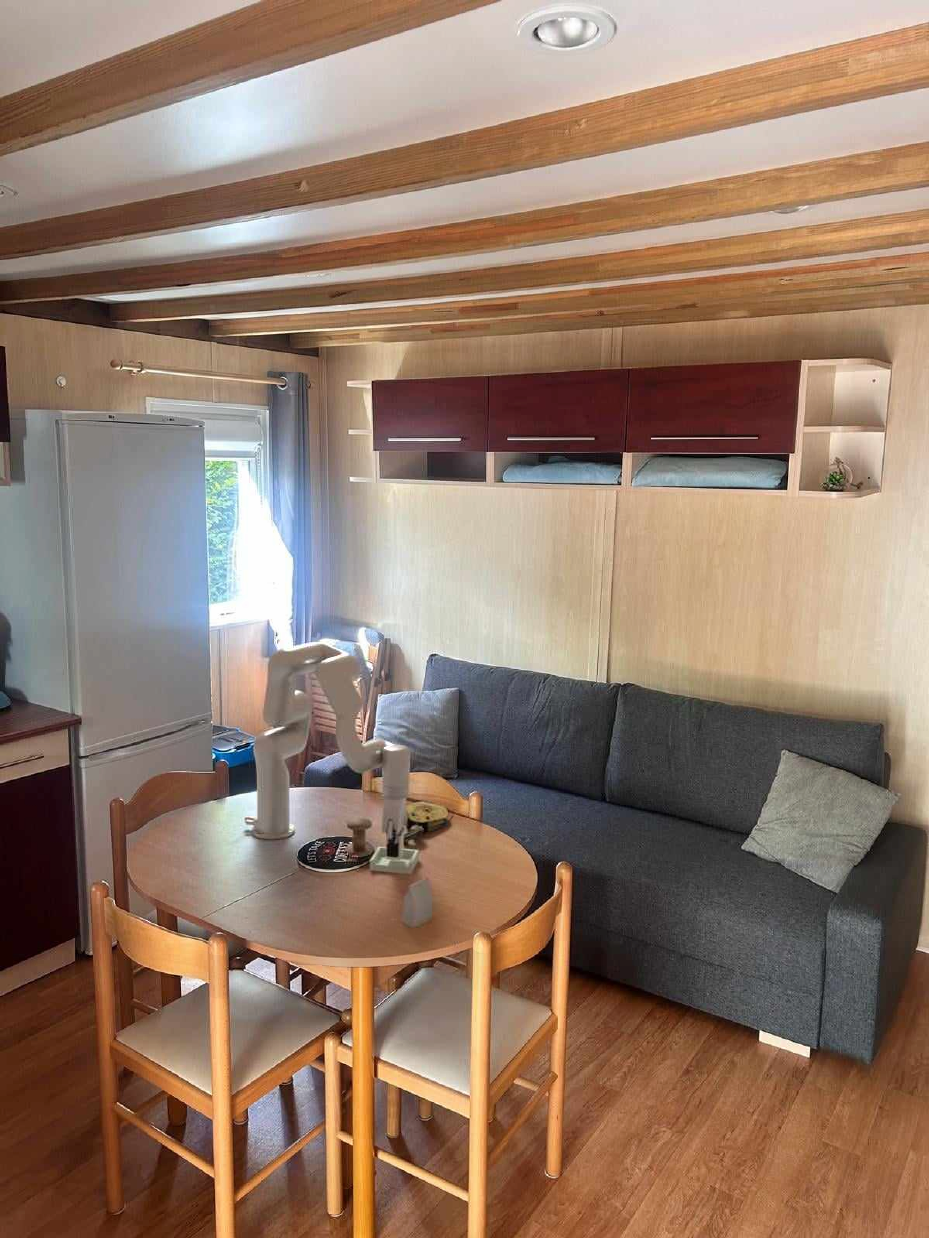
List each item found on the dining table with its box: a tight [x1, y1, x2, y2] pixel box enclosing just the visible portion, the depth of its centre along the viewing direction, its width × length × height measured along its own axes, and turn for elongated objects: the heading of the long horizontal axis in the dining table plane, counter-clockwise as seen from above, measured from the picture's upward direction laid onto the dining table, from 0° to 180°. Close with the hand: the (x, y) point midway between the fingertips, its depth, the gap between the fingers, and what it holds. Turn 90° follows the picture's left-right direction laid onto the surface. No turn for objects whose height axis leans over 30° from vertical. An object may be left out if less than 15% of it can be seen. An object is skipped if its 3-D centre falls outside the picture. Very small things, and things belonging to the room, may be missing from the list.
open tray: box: [369, 846, 420, 875], centre depth 263 cm, size 12×10×3 cm
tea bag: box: [402, 877, 434, 928], centre depth 231 cm, size 4×7×10 cm, turn 140°
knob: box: [344, 817, 374, 856], centre depth 271 cm, size 8×8×9 cm
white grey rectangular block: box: [385, 826, 405, 861], centre depth 262 cm, size 4×4×8 cm
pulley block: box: [404, 799, 453, 844], centre depth 290 cm, size 14×6×30 cm
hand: (394, 852), depth 263 cm, fingers closed on white grey rectangular block, 4 cm apart
